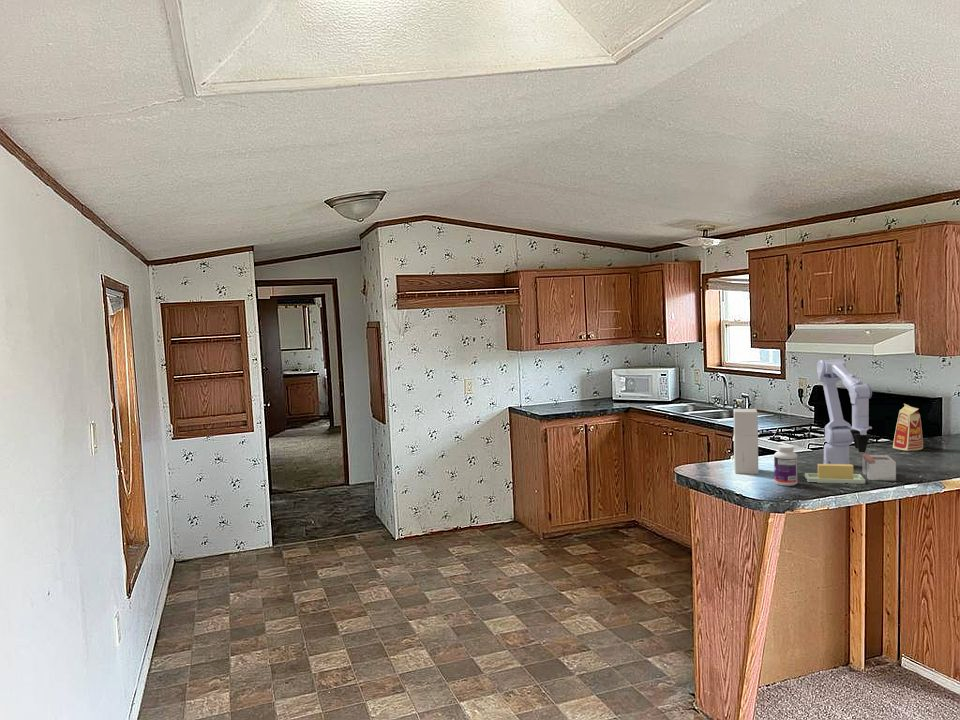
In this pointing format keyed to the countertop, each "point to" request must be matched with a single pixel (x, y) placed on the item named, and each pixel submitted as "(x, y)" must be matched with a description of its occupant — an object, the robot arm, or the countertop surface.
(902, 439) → the milk carton
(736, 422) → the tall white carton
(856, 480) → the tray
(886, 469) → the dispenser
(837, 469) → the tan rectangular block
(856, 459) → the countertop surface
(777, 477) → the pill bottle
